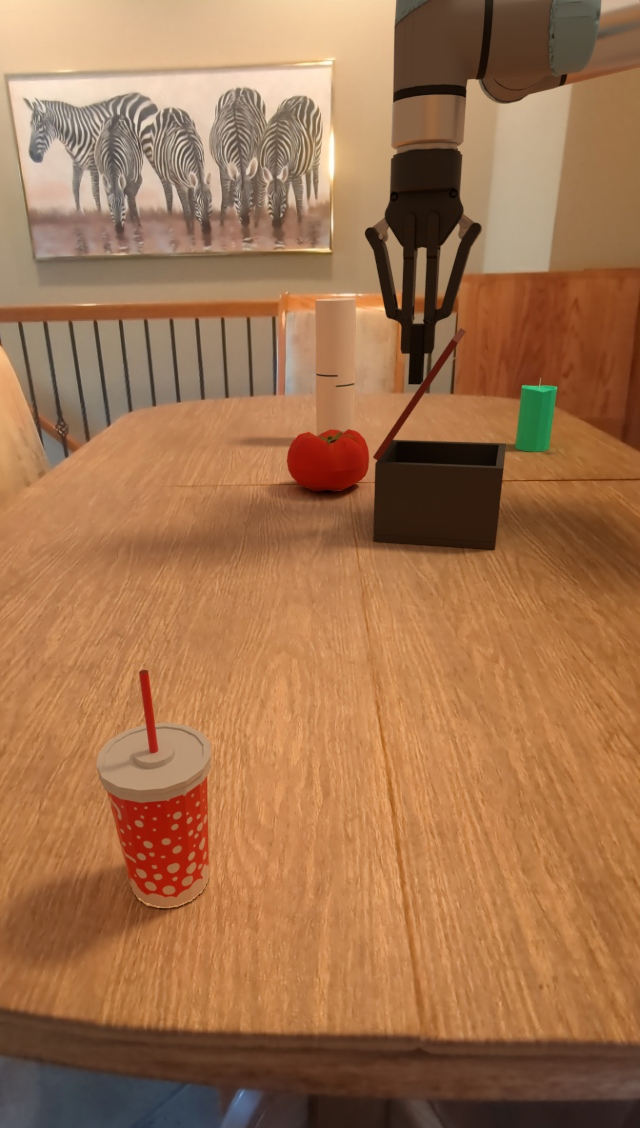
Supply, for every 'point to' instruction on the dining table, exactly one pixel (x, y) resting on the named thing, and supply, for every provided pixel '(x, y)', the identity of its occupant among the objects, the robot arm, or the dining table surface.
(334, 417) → the cylindrical container
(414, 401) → the box lid
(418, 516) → the open box
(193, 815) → the beverage cup
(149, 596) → the dining table surface
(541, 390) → the candle
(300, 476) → the tomato
